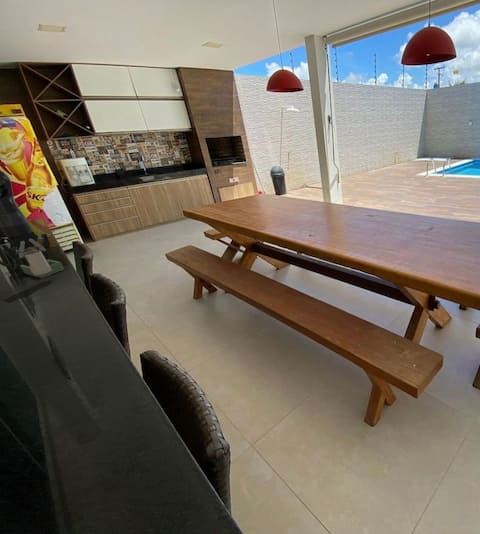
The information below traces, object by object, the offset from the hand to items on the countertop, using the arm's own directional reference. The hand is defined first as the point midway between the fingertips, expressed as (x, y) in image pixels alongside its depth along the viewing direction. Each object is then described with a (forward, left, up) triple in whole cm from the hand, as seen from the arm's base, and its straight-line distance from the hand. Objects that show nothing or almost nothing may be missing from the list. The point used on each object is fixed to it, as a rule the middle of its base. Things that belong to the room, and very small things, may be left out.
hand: (37, 262), depth 126 cm
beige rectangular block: (0, 0, -5) cm, 5 cm away
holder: (+5, +15, -9) cm, 18 cm away
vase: (+9, +35, -9) cm, 37 cm away
